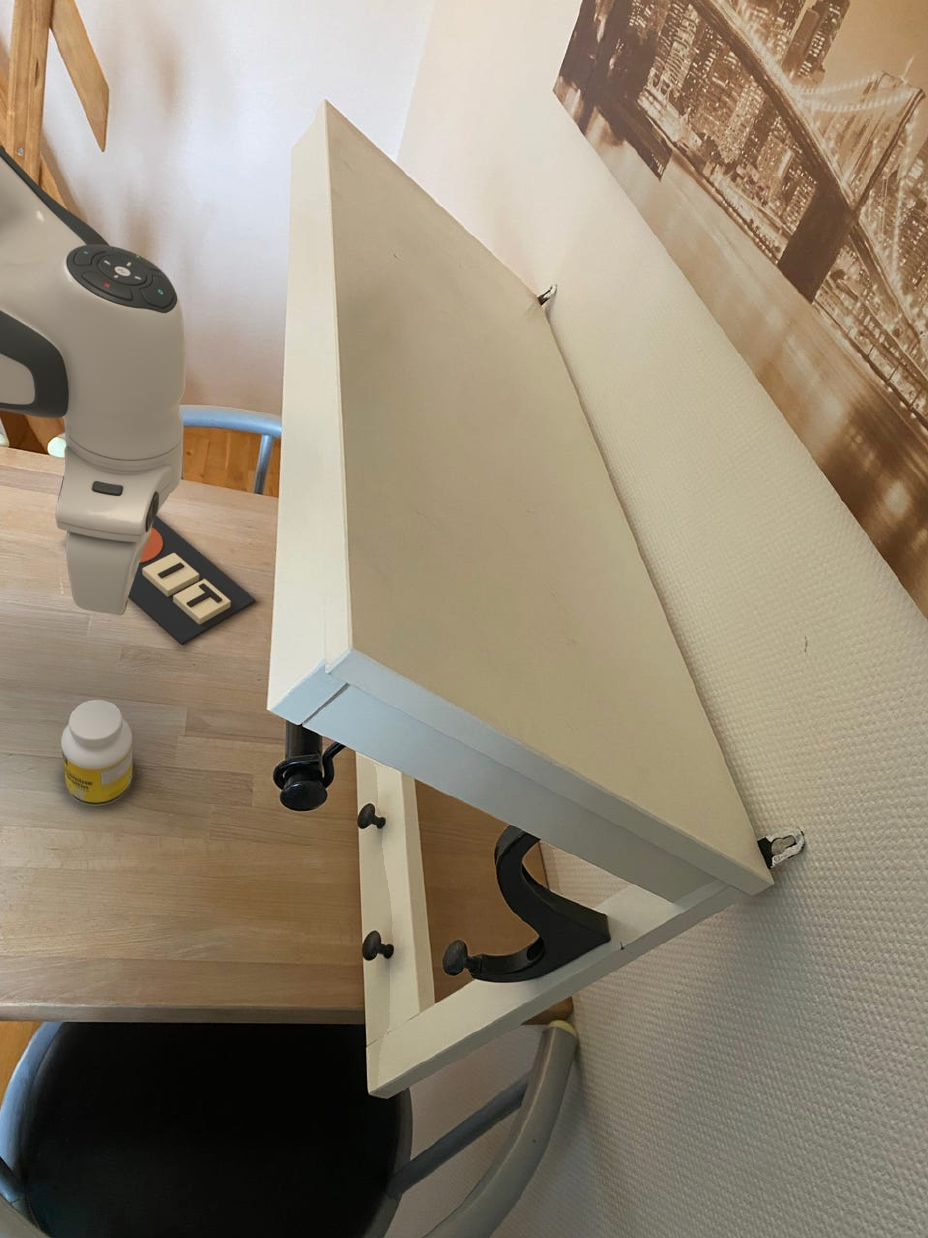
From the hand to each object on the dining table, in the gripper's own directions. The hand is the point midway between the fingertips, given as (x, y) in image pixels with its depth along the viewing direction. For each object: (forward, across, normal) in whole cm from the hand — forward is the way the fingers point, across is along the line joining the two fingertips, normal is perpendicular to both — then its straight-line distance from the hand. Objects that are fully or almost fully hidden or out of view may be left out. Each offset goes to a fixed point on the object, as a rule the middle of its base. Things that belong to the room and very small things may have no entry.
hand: (128, 572), depth 77 cm
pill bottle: (+23, +9, -1) cm, 25 cm away
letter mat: (+23, -22, -1) cm, 32 cm away
